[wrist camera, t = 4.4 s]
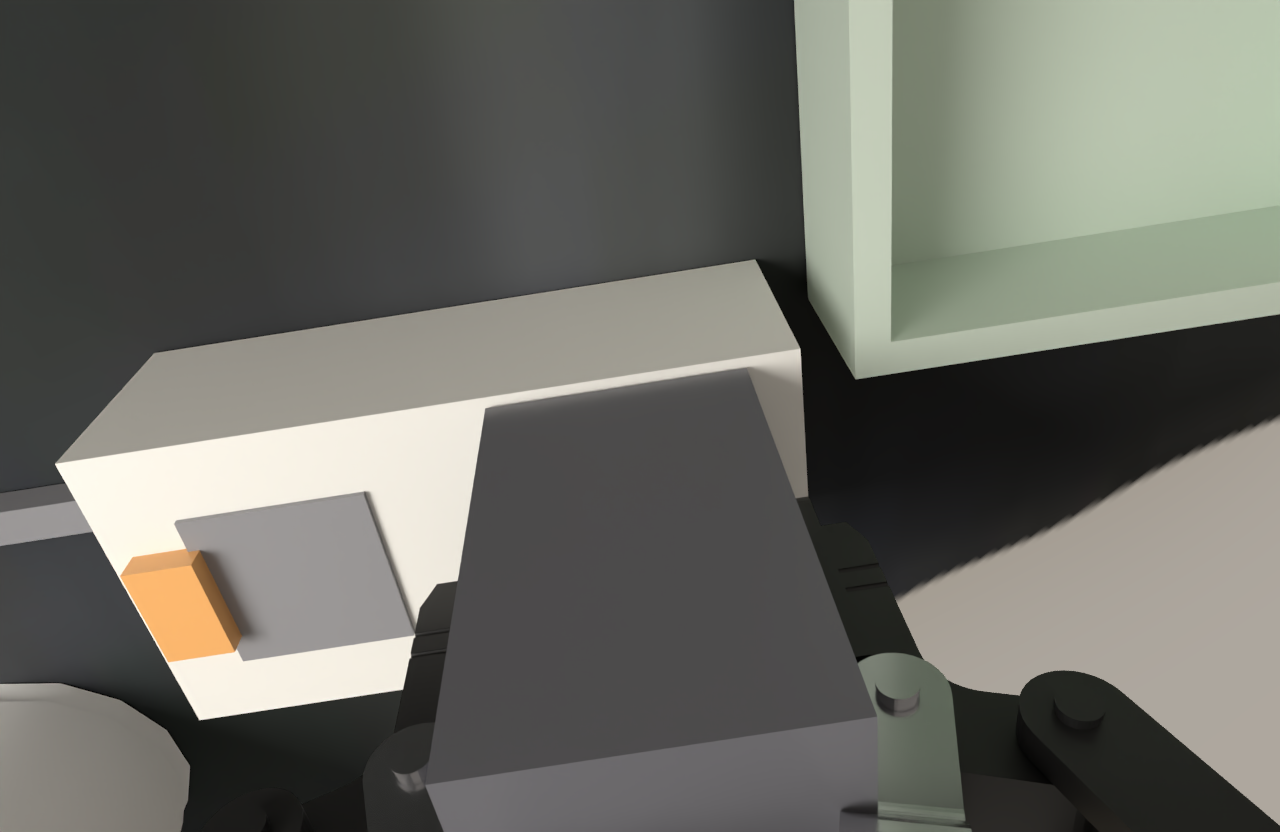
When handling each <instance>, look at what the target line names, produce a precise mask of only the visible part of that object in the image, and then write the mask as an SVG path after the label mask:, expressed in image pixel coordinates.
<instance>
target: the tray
mask: <svg viewBox="0 0 1280 832" xmlns="http://www.w3.org/2000/svg"><path fill="white" fill-rule="evenodd" d="M794 8H795V30H796V52H797V73H798V95H799V116H800V138H801V160H802V181H803V203H804V224H805V246H806V268H807V289H808V299H809V301H810V303H811V305H812V306H813V308H814V310H815V311H816V313H817V315H818V316H819V318H820V320H821V322H822V323H823V325H824V327H825V328H826V330H827V332H828V333H829V335H830V337H831V339H832V340H833V342H834V344H835V345H836V347H837V349H838V351H839V352H840V354H841V356H842V357H843V359H844V361H845V362H846V364H847V366H848V368H849V369H850V371H851V373H852V374H853V376H854V378H855V379H861V378H868V377H874V376H881V375H887V374H894V373H900V372H907V371H913V370H920V369H926V368H933V367H939V366H946V365H952V364H959V363H965V362H972V361H978V360H985V359H991V358H998V357H1004V356H1011V355H1017V354H1024V353H1030V352H1037V351H1043V350H1050V349H1056V348H1063V347H1069V346H1076V345H1082V344H1089V343H1095V342H1102V341H1108V340H1114V339H1121V338H1127V337H1134V336H1140V335H1147V334H1153V333H1160V332H1166V331H1173V330H1179V329H1186V328H1192V327H1199V326H1205V325H1212V324H1218V323H1225V322H1231V321H1238V320H1244V319H1251V318H1257V317H1264V316H1270V315H1277V314H1280V0H794Z"/></svg>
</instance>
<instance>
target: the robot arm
mask: <svg viewBox="0 0 1280 832" xmlns="http://www.w3.org/2000/svg"><path fill="white" fill-rule="evenodd" d="M796 501H797V503H798V506H799V509H800V511H801V514H802V517H803V519H804V522H805V525H806V527H807V530H808V533H809V535H810V538H811V541H812V543H813V546H814V549H815V551H816V554H817V557H818V559H819V562H820V565H821V567H822V570H823V573H824V575H825V578H826V581H827V583H828V586H829V589H830V591H831V594H832V597H833V599H834V602H835V605H836V607H837V610H838V613H839V615H840V618H841V621H842V623H843V626H844V629H845V631H846V634H847V637H848V639H849V642H850V645H851V647H852V650H853V653H854V655H855V658H856V661H857V663H858V666H859V669H860V671H861V674H862V677H863V679H864V682H865V685H866V687H867V690H868V693H869V695H870V698H871V701H872V703H873V706H874V709H875V711H876V714H877V720H878V814H875V813H864V812H854V811H841V810H840V820H839V832H1280V826H1279V825H1278V824H1277V823H1276V822H1275V821H1274V820H1272V819H1271V818H1270V817H1269V816H1267V815H1266V814H1265V813H1264V812H1263V811H1262V810H1260V809H1259V808H1258V807H1257V806H1256V805H1255V804H1253V803H1252V802H1251V801H1250V800H1249V799H1248V798H1246V797H1245V796H1244V795H1243V794H1241V793H1240V792H1239V791H1238V790H1237V789H1235V788H1234V787H1233V786H1232V785H1231V784H1230V783H1228V782H1227V781H1226V780H1225V779H1224V778H1223V777H1221V776H1220V775H1219V774H1218V773H1217V772H1216V771H1214V770H1213V769H1212V768H1211V767H1210V766H1209V765H1207V764H1206V763H1205V762H1204V761H1202V760H1201V759H1200V758H1199V757H1198V756H1197V755H1196V754H1194V753H1193V752H1192V751H1191V750H1189V749H1188V748H1187V747H1186V746H1185V745H1184V744H1182V743H1181V742H1180V741H1179V740H1178V739H1176V738H1175V737H1174V736H1173V735H1172V734H1171V733H1170V732H1168V731H1167V730H1166V729H1165V728H1164V727H1162V726H1161V725H1160V724H1159V723H1158V722H1156V721H1155V720H1154V719H1153V718H1152V717H1151V716H1149V715H1148V714H1147V713H1146V712H1145V711H1144V710H1142V709H1141V708H1140V707H1139V706H1138V705H1136V704H1135V703H1134V702H1133V701H1132V700H1130V699H1129V698H1128V697H1127V696H1126V695H1125V694H1123V693H1122V692H1121V691H1120V690H1118V689H1117V688H1116V687H1114V686H1113V685H1111V684H1109V683H1108V682H1106V681H1104V680H1102V679H1100V678H1097V677H1095V676H1092V675H1089V674H1085V673H1081V672H1076V671H1053V672H1048V673H1044V674H1041V675H1039V676H1037V677H1035V678H1033V679H1031V680H1030V681H1029V682H1028V683H1027V684H1026V685H1025V687H1024V688H1023V689H1022V691H1021V694H1020V696H1018V695H1009V694H1001V693H991V692H983V691H977V690H972V689H968V688H965V687H962V686H959V685H957V684H954V683H952V682H950V681H948V680H947V679H946V678H945V676H944V675H943V674H942V673H941V672H940V671H939V670H938V669H937V668H936V667H934V666H933V665H932V664H930V663H929V662H927V661H925V660H924V659H923V658H922V656H921V654H920V652H919V650H918V648H917V646H916V644H915V641H914V639H913V637H912V635H911V633H910V631H909V628H908V626H907V624H906V622H905V620H904V618H903V615H902V613H901V611H900V609H899V607H898V605H897V602H896V600H895V598H894V596H893V594H892V592H891V589H890V587H889V586H888V585H887V581H886V578H885V576H884V574H883V572H882V570H881V568H879V565H878V561H877V559H876V557H875V555H874V552H873V550H872V548H871V546H870V544H869V542H868V540H867V539H866V538H865V537H863V536H862V535H861V534H860V533H859V532H857V531H856V530H855V529H854V528H852V527H851V526H850V525H849V524H848V523H846V522H843V523H836V524H830V525H823V526H820V523H819V521H818V518H817V516H816V513H815V510H814V508H813V505H812V503H811V501H810V499H809V497H800V498H796ZM457 582H458V581H454V582H447V583H440V584H437V585H436V586H435V588H434V589H433V590H432V592H431V593H430V595H429V596H428V597H427V599H426V600H425V601H424V603H423V604H422V606H421V607H420V610H419V614H418V619H417V624H416V629H415V638H414V639H413V644H412V648H411V658H409V663H408V668H407V673H406V678H405V682H404V687H403V692H402V697H401V702H400V707H399V712H398V716H397V721H396V726H395V731H394V734H393V735H391V736H390V737H388V738H387V739H386V740H384V741H383V742H382V743H381V744H380V745H379V746H378V747H377V748H376V750H375V751H374V752H373V753H372V755H371V756H370V758H369V760H368V761H367V764H366V766H365V769H364V773H363V775H362V776H361V777H360V778H358V779H356V780H355V781H353V782H352V783H350V784H348V785H346V786H344V787H342V788H339V789H337V790H335V791H332V792H330V793H328V794H325V795H323V796H321V797H319V798H316V799H314V800H312V801H309V802H307V803H305V804H302V805H301V803H300V801H299V800H298V798H297V797H296V796H295V795H294V794H293V793H291V792H289V791H287V790H284V789H280V788H264V789H259V790H255V791H251V792H249V793H246V794H244V795H242V796H240V797H238V798H236V799H234V800H232V801H231V802H229V803H228V804H226V805H225V806H224V807H223V808H221V809H220V810H219V811H218V812H217V813H216V814H215V815H214V816H213V817H212V818H211V819H210V820H209V821H208V822H207V823H206V825H205V826H204V827H203V829H202V830H201V831H200V832H444V831H443V828H442V826H441V823H440V821H439V819H438V816H437V814H436V811H435V809H434V806H433V804H432V801H431V799H430V796H429V794H428V791H427V789H426V786H425V782H426V776H427V770H428V764H429V757H430V751H431V745H432V739H433V732H434V726H435V720H436V714H437V707H438V701H439V695H440V689H441V682H442V676H443V670H444V663H445V657H446V651H447V645H448V638H449V632H450V626H451V620H452V613H453V607H454V601H455V595H456V588H457Z"/></svg>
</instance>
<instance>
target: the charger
mask: <svg viewBox="0 0 1280 832" xmlns="http://www.w3.org/2000/svg"><path fill="white" fill-rule="evenodd" d="M425 786H426V789H427V791H428V794H429V796H430V799H431V801H432V804H433V806H434V809H435V811H436V814H437V816H438V819H439V821H440V823H441V826H442V828H443V831H444V832H839V820H840V810H841V811H854V812H864V813H875V814H878V720H877V714H876V711H875V709H874V706H873V703H872V701H871V698H870V695H869V693H868V690H867V687H866V685H865V682H864V679H863V677H862V674H861V671H860V669H859V666H858V663H857V661H856V658H855V655H854V653H853V650H852V647H851V645H850V642H849V639H848V637H847V634H846V631H845V629H844V626H843V623H842V621H841V618H840V615H839V613H838V610H837V607H836V605H835V602H834V599H833V597H832V594H831V591H830V589H829V586H828V583H827V581H826V578H825V575H824V573H823V570H822V567H821V565H820V562H819V559H818V557H817V554H816V551H815V549H814V546H813V543H812V541H811V538H810V535H809V533H808V530H807V527H806V525H805V522H804V519H803V517H802V514H801V511H800V509H799V506H798V503H797V501H796V498H795V495H794V493H793V490H792V487H791V484H790V482H789V479H788V476H787V474H786V471H785V468H784V466H783V463H782V460H781V458H780V455H779V452H778V450H777V447H776V444H775V442H774V439H773V436H772V434H771V431H770V428H769V426H768V423H767V420H766V418H765V415H764V412H763V410H762V407H761V404H760V402H759V399H758V396H757V394H756V391H755V388H754V386H753V383H752V380H751V378H750V375H749V372H748V370H747V368H742V369H735V370H729V371H722V372H716V373H709V374H703V375H697V376H690V377H684V378H677V379H671V380H664V381H658V382H652V383H645V384H639V385H632V386H626V387H619V388H613V389H606V390H600V391H594V392H587V393H581V394H574V395H568V396H561V397H555V398H549V399H542V400H536V401H529V402H523V403H516V404H510V405H504V406H497V407H491V408H485V413H484V419H483V426H482V432H481V438H480V444H479V451H478V457H477V463H476V469H475V476H474V482H473V488H472V494H471V501H470V507H469V513H468V520H467V526H466V532H465V538H464V545H463V551H462V557H461V563H460V570H459V576H458V582H457V588H456V595H455V601H454V607H453V613H452V620H451V626H450V632H449V638H448V645H447V651H446V657H445V663H444V670H443V676H442V682H441V689H440V695H439V701H438V707H437V714H436V720H435V726H434V732H433V739H432V745H431V751H430V757H429V764H428V770H427V776H426V782H425Z"/></svg>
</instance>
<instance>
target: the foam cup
mask: <svg viewBox="0 0 1280 832" xmlns="http://www.w3.org/2000/svg"><path fill="white" fill-rule="evenodd" d="M189 776H190V765H189V764H188V762H187V760H186V759H185V757H184V756H183V754H182V753H181V751H180V750H179V748H178V747H177V745H176V744H175V742H174V740H173V739H172V737H171V736H170V734H169V733H168V731H167V730H166V729H164V728H163V727H161V726H160V725H158V724H157V723H155V722H153V721H152V720H150V719H149V718H147V717H146V716H144V715H143V714H141V713H140V712H138V711H137V710H135V709H133V708H132V707H130V706H129V705H127V704H126V703H124V702H123V701H121V700H118V699H115V698H111V697H108V696H104V695H100V694H97V693H93V692H90V691H86V690H83V689H79V688H75V687H72V686H68V685H65V684H61V683H40V684H0V832H181V828H182V824H183V813H184V809H185V806H186V804H187V802H188V792H189Z"/></svg>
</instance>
